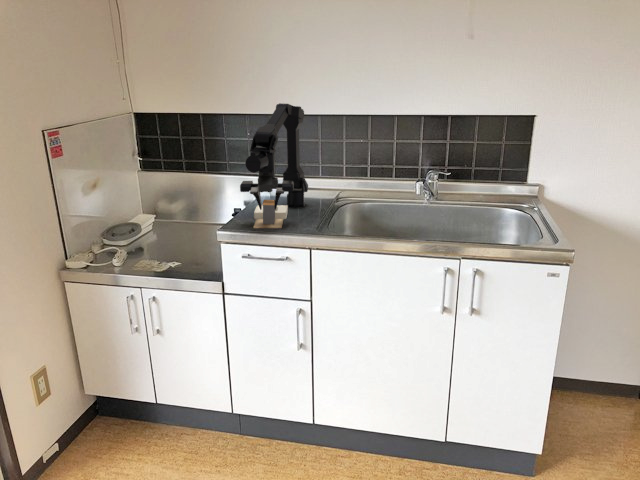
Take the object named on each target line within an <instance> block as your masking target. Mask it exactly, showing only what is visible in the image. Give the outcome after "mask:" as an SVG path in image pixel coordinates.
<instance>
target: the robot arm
mask: <svg viewBox="0 0 640 480" xmlns="http://www.w3.org/2000/svg"><path fill="white" fill-rule="evenodd" d="M304 118H305V111H304V109H303V108H302V106H299V105H298V106H297V105H296V106H294V105H292V104H289V103H278V104H276V106H275V110H274V111H273V113H271V116H270V118H269V119H268V121H267V122H266V124H265V125H263V126H260V127H259V128H258V129H257V130H256V131H255V133H254V134H253V137H252V141H251V145H250V149H249V152H250V153H249V154H250V155H249V156H248V157H247V158H246V160H245V167H246V169H247V170H248V171H249V172H250V173H257V172H258V177H257V182H256V183H254V182H253V180H243V181H242V182H241V184H240V185H239V190H240V191H239V192H241V193H249V194H250V195H253V197H254V198H255V200H256V203H257V205H259V208H260V210H261V209H262V205H263V202H262V199H261V197H262V196H261V193H272V192H273V189H275V196H274V197H275V199H274V200H275V210H276V207H277V205H279V204H278V203H279V199H280V198H281V197H280V196H282V195H284V194H285V193H286V205H288V208H305V203H306V202H305V193H307V192H308V189H309V184H308V181H307V180H306V178H305V172H304V170H303V169H302V167H301V161H300V128H301V127H302V124H303V123H304ZM282 126H284V128H285V130H286V150H287V151H286V154H287V167H286V169H285V171H284V172H283V173H282V182H280V183H279V179H278V177H276V167H275V153H276V152H277V150H276V147H277V144H278V140H279V138H278V133H279V131H280V130H281V128H282Z"/></svg>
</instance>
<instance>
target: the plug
mask: <svg viewBox="0 0 640 480" xmlns="http://www.w3.org/2000/svg"><path fill="white" fill-rule="evenodd" d="M262 205H263V224H274V223H275V199H263V202H262Z"/></svg>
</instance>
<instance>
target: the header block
mask: <svg viewBox="0 0 640 480" xmlns="http://www.w3.org/2000/svg"><path fill="white" fill-rule="evenodd" d="M288 211H289V207H288V205H287V204H286V205H285V204H284V205H282V204H280V205H279V204H277V207H276V210H275V219H283V220H287V216H288V213H289V212H288ZM253 219H254V220H256V219H263V204H262V209H261V210H260V208H259V205H258V204H257V205H256V207H255V209H254V212H253Z"/></svg>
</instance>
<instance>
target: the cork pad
mask: <svg viewBox="0 0 640 480" xmlns="http://www.w3.org/2000/svg"><path fill="white" fill-rule="evenodd" d="M283 223H284V219H275V223H274V224H263V219H255V222H254V225H253V227H252V228H253V229H282V227H283Z"/></svg>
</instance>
